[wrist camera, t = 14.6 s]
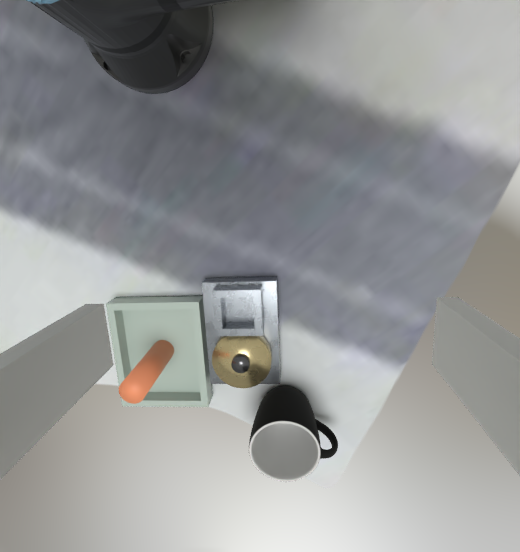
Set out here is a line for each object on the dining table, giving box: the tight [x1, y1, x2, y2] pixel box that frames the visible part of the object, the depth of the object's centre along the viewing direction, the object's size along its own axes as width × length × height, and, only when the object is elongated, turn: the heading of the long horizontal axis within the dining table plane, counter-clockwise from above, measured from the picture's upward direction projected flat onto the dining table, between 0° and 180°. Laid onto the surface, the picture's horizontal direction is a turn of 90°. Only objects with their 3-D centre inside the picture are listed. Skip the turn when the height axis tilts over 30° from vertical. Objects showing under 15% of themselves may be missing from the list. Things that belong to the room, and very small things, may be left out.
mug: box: [249, 386, 338, 482], centre depth 49 cm, size 12×9×10 cm
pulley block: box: [202, 276, 281, 388], centre depth 49 cm, size 15×10×6 cm, turn 3°
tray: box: [106, 295, 213, 407], centre depth 52 cm, size 16×13×3 cm
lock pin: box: [119, 340, 174, 404], centre depth 47 cm, size 3×3×11 cm
